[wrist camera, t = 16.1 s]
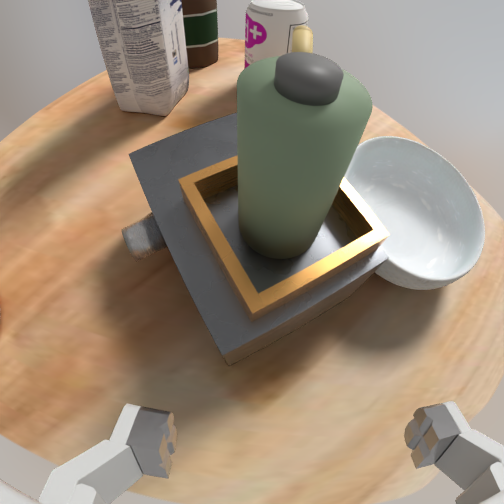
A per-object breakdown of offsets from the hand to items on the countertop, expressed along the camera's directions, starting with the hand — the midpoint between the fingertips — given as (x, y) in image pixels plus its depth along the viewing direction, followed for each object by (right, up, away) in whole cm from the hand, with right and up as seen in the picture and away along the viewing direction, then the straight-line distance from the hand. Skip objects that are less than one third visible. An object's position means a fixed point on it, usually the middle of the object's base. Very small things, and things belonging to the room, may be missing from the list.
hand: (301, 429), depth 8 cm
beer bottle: (-11, +41, +38) cm, 57 cm away
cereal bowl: (+14, +8, +23) cm, 28 cm away
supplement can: (+1, +31, +34) cm, 46 cm away
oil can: (0, +9, +13) cm, 15 cm away
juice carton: (-16, +29, +32) cm, 46 cm away
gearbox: (-4, +5, +21) cm, 22 cm away
